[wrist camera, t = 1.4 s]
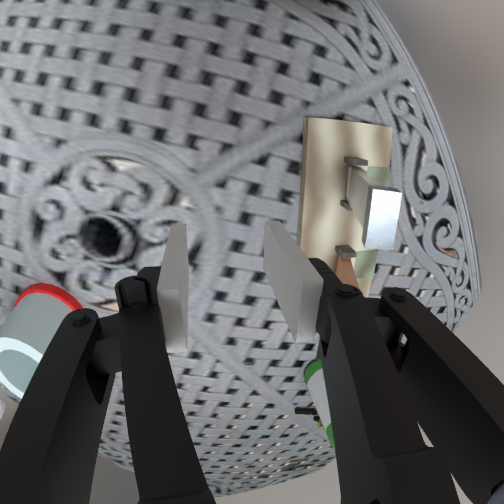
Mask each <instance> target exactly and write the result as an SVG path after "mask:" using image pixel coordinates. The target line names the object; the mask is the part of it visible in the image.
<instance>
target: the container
mask: <svg viewBox="0 0 504 504" xmlns="http://www.w3.org/2000/svg"><path fill="white" fill-rule="evenodd" d="M77 309H83V307H82V306H81V305H80V304H79V302H78V301H77V300H76V299H75V298H74V297H73V296H71V295H70V294H69V293H67V292H66V291H65V290H63V289H61V288H58V287H56V286H54V285H50V284H43V283H39V284H35V285H31V286H29V287H28V288H27V289H25V290H24V291H23V292H22V293H21V295H20V296H19V297H18V299H17V302H16V304H15V308H14V309H13V310H12V312H11V313H10V315H9V316H8V317H7V319H6V320H5V321H4V323H3V324H2V326H1V327H0V382H2V383H3V384H4V385H5V386H6V387H7V388H8V389H9V390H10V391H11V392H13V393H14V394H15V395H17V396H18V397H20V398H21V399H22V397H23V395H24V393H25V391H26V389H27V386H28V384H29V382H30V380H31V378H32V376H33V374H34V372H35V370H36V368H37V366H38V364H39V362H40V360H41V359H42V357H43V355H44V353H45V351H46V349H47V347H48V345H49V344H50V342H51V340H52V338H53V336H54V335H55V333H56V331H57V329H58V327H59V326H60V324H61V322H62V321H63V319H64V318H65V316H66V315H67V314H69V313H70V312H72V311H74V310H77Z"/></svg>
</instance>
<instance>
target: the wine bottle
mask: <svg viewBox="0 0 504 504" xmlns="http://www.w3.org/2000/svg"><path fill="white" fill-rule="evenodd" d="M304 379H305V381H306V384H307V386H308V389H309V392H310V394H311V397H312V399H313V401H314V404H315V406H316V409H317V411H318V414H319V416H320V419H321V421H322V424H323V426H324V428H325V431H326V433H327V436H328V438H329V440H330V443H331V445H332V447H333V448H334V449H335V445H334V438H333V431H332V425H331V418H330V412H329V405H328V399H327V393H326V387H325V381H324V375H323V369H322V364H321V359H319V361H316V360H315V361H314V362H312V363H311V364H310V365H309V366H308V367H307V368H306V370H305V373H304Z"/></svg>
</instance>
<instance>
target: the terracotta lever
mask: <svg viewBox="0 0 504 504" xmlns="http://www.w3.org/2000/svg"><path fill="white" fill-rule="evenodd" d="M336 276H337V277H338V278H339V279H340V281H341V282H342V283H343V284H349V285H352V286H355V287H357V288H358V289H359V286H358V282H357V279H356V275H355V272H354V269H353V265H352V262H351V258H342V257H341V256H340V255H339V256H338V263H337V270H336Z"/></svg>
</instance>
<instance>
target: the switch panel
mask: <svg viewBox="0 0 504 504" xmlns="http://www.w3.org/2000/svg"><path fill="white" fill-rule="evenodd" d="M391 142H392V127H386V126H380V125H373V124H366V123H359V122H351V121H343V120H334V119H324V118H313V117H304V127H303V150H302V170H301V188H300V203H299V218H298V232H297V245H298V246H299V248H300V249H301V250H302V252H303V253H304V254H305V256H306V257H307V258H319V259H321V260H322V261H324V262H326V264H327V265H328V266H329V267H330V269H331V270H332V271H333V273H335V275H336V270H337V263H338V256H339V255H340V256H341V257H342V258H351V262H352V265H353V269H354V272H355V275H356V279H357V282H358V286H359V289H360V291H361V292H362V293H363V296H364V297H368V295H369V290H370V286H371V281H372V277H373V275H374V270H375V265H376V259H377V254H378V249H370V248H365V247H364V245H363V243H362V241H361V239H362V233H363V228H362V226H361V224H360V223H359V221H358V219H357V217H356V215H355V213H354V211H353V210H352V208H351V206H350V204H349V202H348V200H346V189H347V178H348V166H349V165H355V166H360V167H362V168H363V169H364V170H365V171H367V172H368V173H369V174H370V175H372V176H373V177H374V178H375V179H377V180H378V181H379V182H380V183H381V184H383V185H384V186H385V187H388V181H389V172H390V168H389V165H390V154H391Z"/></svg>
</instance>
